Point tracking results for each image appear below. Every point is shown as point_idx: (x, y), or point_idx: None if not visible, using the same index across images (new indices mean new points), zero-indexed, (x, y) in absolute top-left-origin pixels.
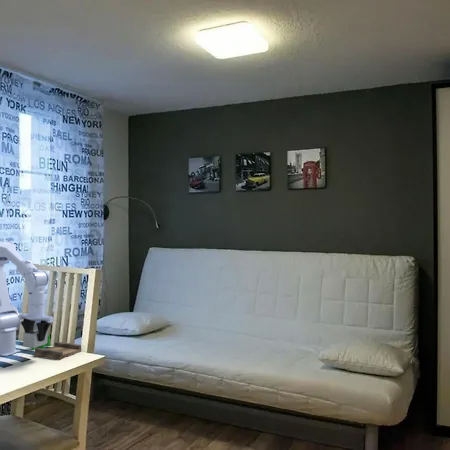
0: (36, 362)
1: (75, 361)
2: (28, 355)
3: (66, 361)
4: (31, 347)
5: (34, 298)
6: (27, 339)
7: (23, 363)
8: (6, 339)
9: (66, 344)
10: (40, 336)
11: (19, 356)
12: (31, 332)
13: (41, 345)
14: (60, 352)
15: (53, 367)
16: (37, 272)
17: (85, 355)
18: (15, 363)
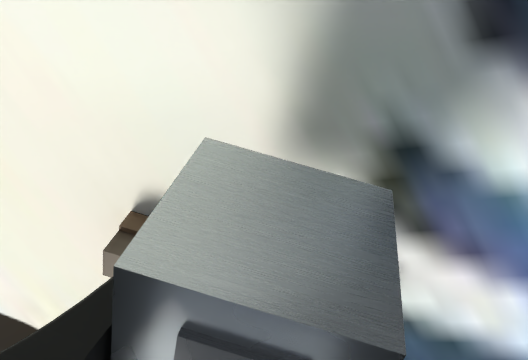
0: (263, 127)
1: (5, 186)
2: (430, 294)
3: (60, 179)
4: (246, 149)
5: None
6: (306, 236)
7: (368, 81)
8: None
9: None
10: (97, 289)
11: (501, 269)
12: (230, 356)
13: None
14: (103, 253)
15: (33, 9)
16: None
17: (46, 303)
18: (453, 67)
